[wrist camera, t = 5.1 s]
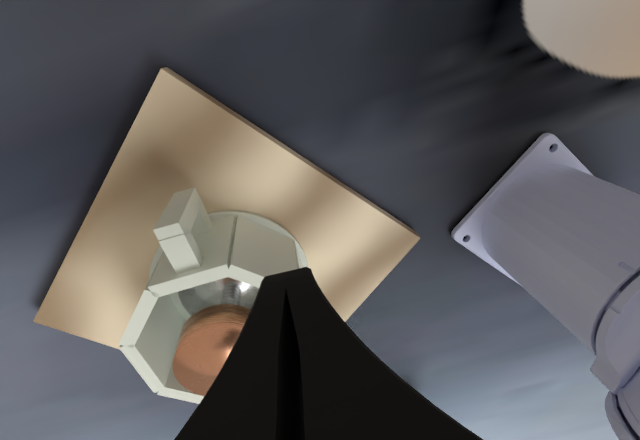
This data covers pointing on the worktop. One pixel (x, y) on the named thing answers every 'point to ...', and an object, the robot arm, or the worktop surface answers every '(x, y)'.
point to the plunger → (210, 330)
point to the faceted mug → (198, 277)
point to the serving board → (216, 194)
